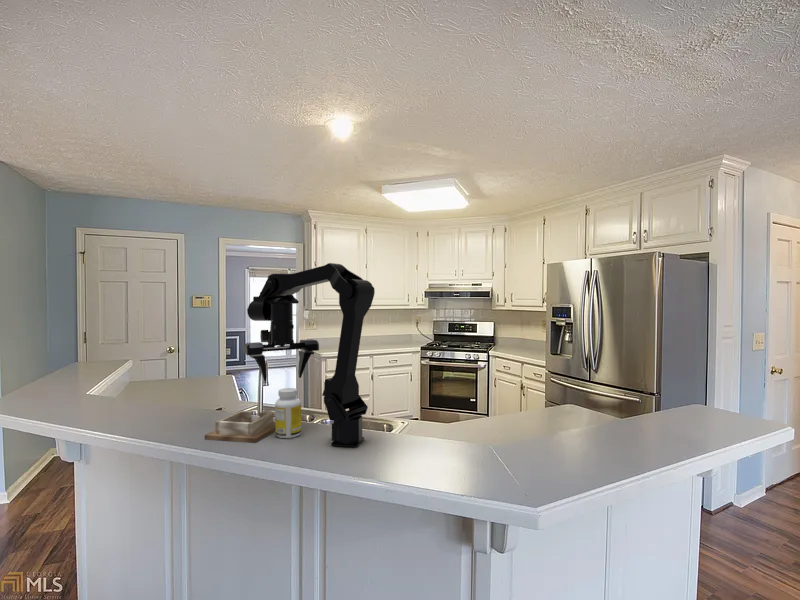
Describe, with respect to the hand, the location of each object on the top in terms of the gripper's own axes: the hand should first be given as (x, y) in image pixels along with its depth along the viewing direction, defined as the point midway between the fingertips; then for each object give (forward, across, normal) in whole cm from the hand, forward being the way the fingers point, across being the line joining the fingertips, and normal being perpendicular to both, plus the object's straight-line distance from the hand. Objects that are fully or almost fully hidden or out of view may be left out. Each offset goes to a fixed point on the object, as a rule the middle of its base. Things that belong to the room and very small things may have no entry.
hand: (282, 379), depth 114 cm
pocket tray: (+13, +9, -2) cm, 16 cm away
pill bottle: (+14, 0, +5) cm, 15 cm away
